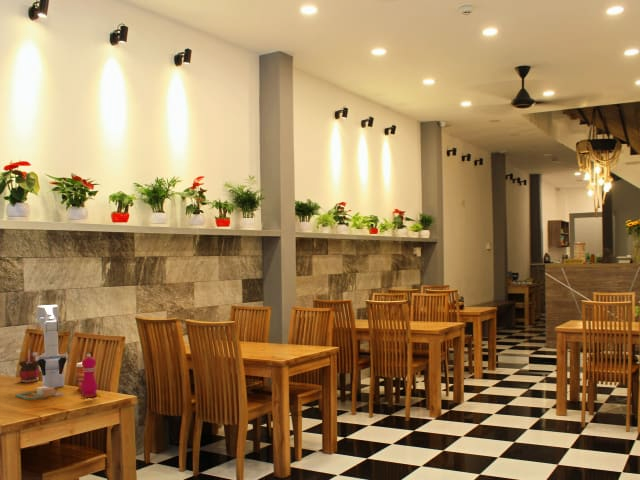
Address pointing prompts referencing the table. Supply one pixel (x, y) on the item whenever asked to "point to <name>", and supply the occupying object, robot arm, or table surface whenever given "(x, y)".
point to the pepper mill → (89, 377)
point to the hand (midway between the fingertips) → (52, 374)
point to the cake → (29, 368)
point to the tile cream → (41, 390)
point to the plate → (48, 396)
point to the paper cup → (80, 374)
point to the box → (29, 397)
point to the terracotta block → (49, 391)
